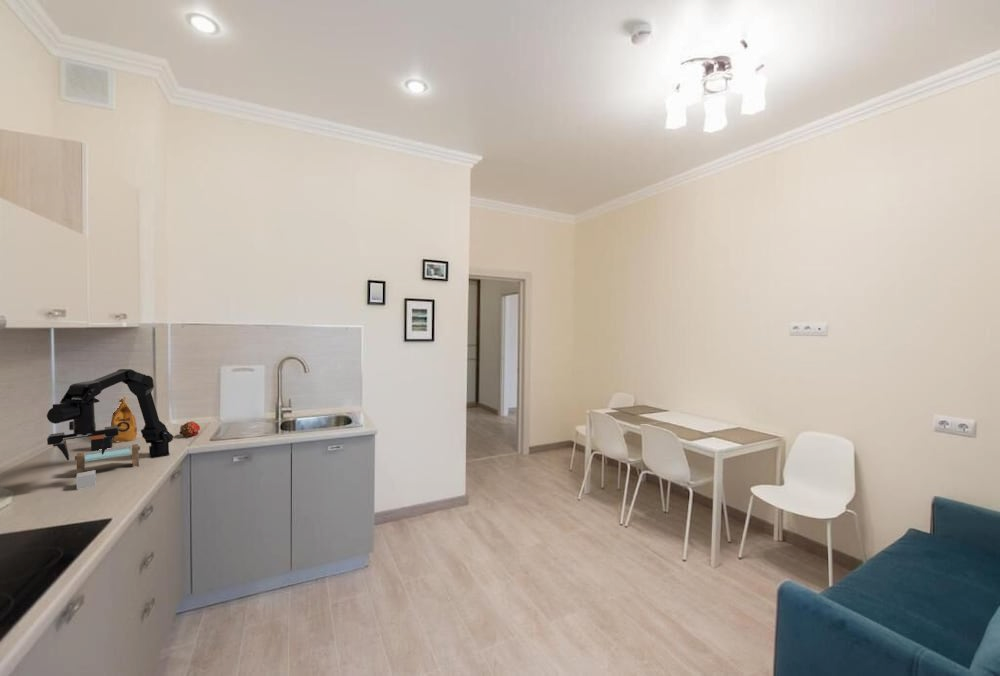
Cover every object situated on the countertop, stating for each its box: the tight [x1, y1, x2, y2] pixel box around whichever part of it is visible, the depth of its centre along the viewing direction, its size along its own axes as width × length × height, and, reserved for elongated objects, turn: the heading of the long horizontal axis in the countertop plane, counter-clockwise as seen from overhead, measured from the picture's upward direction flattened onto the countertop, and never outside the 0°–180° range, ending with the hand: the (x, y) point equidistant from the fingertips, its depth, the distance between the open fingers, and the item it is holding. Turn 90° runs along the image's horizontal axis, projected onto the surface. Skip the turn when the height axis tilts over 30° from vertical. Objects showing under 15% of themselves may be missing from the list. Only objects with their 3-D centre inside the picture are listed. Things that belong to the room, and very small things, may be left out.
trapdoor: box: [84, 445, 132, 462], centre depth 172 cm, size 14×11×3 cm
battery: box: [90, 428, 113, 452], centre depth 197 cm, size 4×7×10 cm, turn 123°
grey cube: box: [75, 469, 97, 490], centre depth 156 cm, size 5×5×5 cm
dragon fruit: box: [178, 420, 201, 438], centre depth 221 cm, size 8×8×12 cm
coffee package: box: [110, 396, 138, 443], centre depth 213 cm, size 10×12×22 cm
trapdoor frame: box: [74, 443, 141, 474], centre depth 172 cm, size 20×5×8 cm, turn 133°
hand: (85, 457), depth 156 cm, fingers open, 9 cm apart
